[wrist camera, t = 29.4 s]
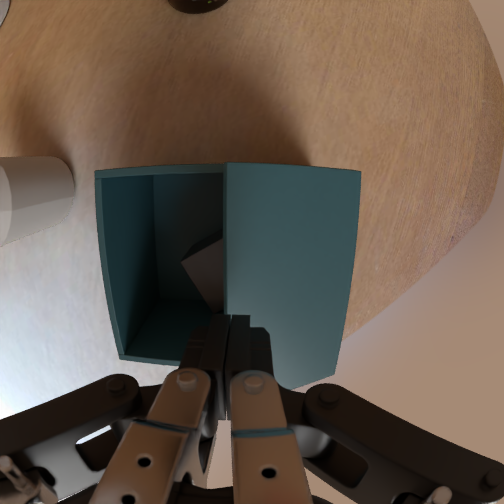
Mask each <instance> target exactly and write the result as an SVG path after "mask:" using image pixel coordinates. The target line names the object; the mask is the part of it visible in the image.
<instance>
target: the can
mask: <svg viewBox="0 0 504 504" xmlns="http://www.w3.org/2000/svg"><path fill="white" fill-rule="evenodd" d="M73 200H74V182H73V178H72V174H71V172H70V170H69V168H68V166H67V165H66V164H65V163H64V162H63V161H62V160H61V159H59V158H56V157H53V156H30V157H0V247H1V246H4V245H6V244H8V243H11V242H13V241H16V240H18V239H21V238H23V237H26V236H29V235H31V234H34V233H36V232H39V231H42V230H44V229H47V228H50V227H53V226H55V225H57V224H60V223H61V222H62V221H63V220H64V219H65V218H66V217H67V216H68V214H69V212H70V210H71V208H72V204H73Z"/></svg>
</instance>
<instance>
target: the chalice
mask: <svg viewBox="0 0 504 504" xmlns="http://www.w3.org/2000/svg"><path fill="white" fill-rule="evenodd" d="M8 7H9V0H0V25H1V23H2V22H3V20H4V18H5V16H6V13H7V10H8Z"/></svg>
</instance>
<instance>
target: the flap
mask: <svg viewBox="0 0 504 504" xmlns="http://www.w3.org/2000/svg"><path fill="white" fill-rule="evenodd" d="M360 189H361V171H356V170H347V169H338V168H328V167H317V166H305V165H290V164H273V163H249V162H224V166H223V282H224V314H231V318H232V314H236V315H250V327H264V328H265V329H266V330H267V332H268V333H269V334H270V341H271V351H272V360H273V370H274V377H275V379H276V381H277V382H278V383H279V384H280V385H281V386H282V387H284V388H286V389H288V390H292V389H295V388H298V387H301V386H304V385H307V384H310V383H312V382H315V381H318V380H321V379H324V378H326V377H329V376H332V375H334V374H335V369H336V365H337V360H338V355H339V351H340V345H341V341H342V336H343V330H344V325H345V319H346V313H347V307H348V301H349V295H350V288H351V281H352V274H353V266H354V258H355V249H356V240H357V230H358V218H359V205H360Z"/></svg>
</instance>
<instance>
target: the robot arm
mask: <svg viewBox="0 0 504 504" xmlns="http://www.w3.org/2000/svg"><path fill="white" fill-rule="evenodd" d="M226 410H227V420H231V448H232V473H233V486H231V487H224V488H217V489H207V488H206V487H207V477H208V472H209V468H210V464H211V459H212V455H213V450H214V446H215V441H216V431H217V426H218V420H226ZM108 425H110V427H111V429H110V430H108V431H106V432H104V433H102V434H100V435H98V436H96V437H94V438H92V439H90V440H88V441H86V442H84V443H82V444H76V443H77V441H78V440H79V439H81V438H83V437H85V436H87V435H89V434H92V433H94V432H96V431H98V430H100V429H102V428H104V427H106V426H108ZM304 467H305V468H307V469H308V470H309V471H311V472H312V473H313V474H315V475H316V476H318V477H319V478H320V479H322V480H323V481H324V482H326V483H327V484H329V485H330V486H332V487H333V488H334V489H336V490H338V491H339V492H340V493H342V494H343V495H345V496H347V497H348V498H350V499H351V500H353V501H354V502H356V503H358V504H495V503H497V502H498V501H499V500H500V499H501V498H502V497H503V496H504V465H503V464H502V463H500V462H498V461H495V460H492V459H490V458H487V457H485V456H482V455H480V454H477V453H475V452H473V451H470V450H468V449H465V448H463V447H461V446H458V445H456V444H454V443H452V442H449V441H447V440H445V439H443V438H440V437H438V436H436V435H434V434H432V433H430V432H428V431H425V430H423V429H421V428H419V427H417V426H415V425H413V424H411V423H409V422H407V421H405V420H403V419H401V418H399V417H397V416H395V415H393V414H391V413H389V412H387V411H385V410H383V409H382V408H380V407H378V406H376V405H374V404H372V403H370V402H369V401H367V400H365V399H363V398H361V397H359V396H358V395H356V394H354V393H352V392H350V391H348V390H347V389H345V388H343V387H341V386H339V385H336V384H329V383H328V384H327V383H324V384H318V385H315V386H313V387H311V388H310V389H308V390H307V392H306V393H301V392H295V391H291V390H288V389H286V388H284V387H282V386H281V385H280V384H279V383H278V382H277V381H276V379H275V377H274V370H273V360H272V351H271V341H270V334H269V333H268V332H267V330H266V329H265V328H264V327H250V315H236V314H232V318H231V314H212V316H211V320H210V324H209V326H201V325H199V326H197V327H196V328H195V329H194V330H193V331H192V332H191V334H190V336H189V339H188V342H187V345H186V348H185V351H184V353H183V356H182V359H181V362H180V365H179V368H178V369H176V370H174V371H172V372H171V373H169V374H168V375H167V377H166V378H165V380H164V382H163V384H159V385H153V386H143V387H139V384H138V382H137V380H136V379H135V378H133V377H132V376H129V375H126V374H113V375H109V376H106V377H104V378H102V379H100V380H97V381H95V382H93V383H91V384H88V385H86V386H84V387H81V388H79V389H77V390H74V391H72V392H70V393H67V394H65V395H62V396H60V397H58V398H55V399H53V400H50V401H48V402H45V403H43V404H40V405H38V406H35V407H33V408H30V409H27V410H25V411H22V412H20V413H17V414H14V415H12V416H9V417H6V418H3V419H1V420H0V504H333V503H331V502H329V501H327V500H325V499H322V498H320V497H317V496H314V495H311V492H310V489H309V485H308V480H307V476H306V473H305V469H304ZM98 482H99V483H98ZM83 489H84V490H83ZM81 490H82V491H81ZM79 491H80V492H79ZM77 492H78V493H77ZM75 493H76V494H75ZM73 494H74V495H73ZM70 495H72V496H70ZM68 496H70V497H68ZM66 497H68V498H66ZM63 498H66V499H64V500H62V501H60V502H58V501H59V500H61V499H63Z"/></svg>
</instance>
